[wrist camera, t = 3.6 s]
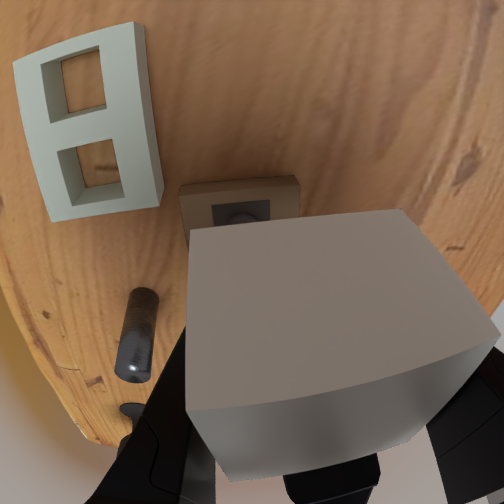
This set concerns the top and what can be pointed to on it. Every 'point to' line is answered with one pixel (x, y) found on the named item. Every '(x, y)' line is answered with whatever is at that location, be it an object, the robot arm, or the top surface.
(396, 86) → the top surface
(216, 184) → the board
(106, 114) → the board
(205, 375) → the white rectangular block
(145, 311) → the peg
